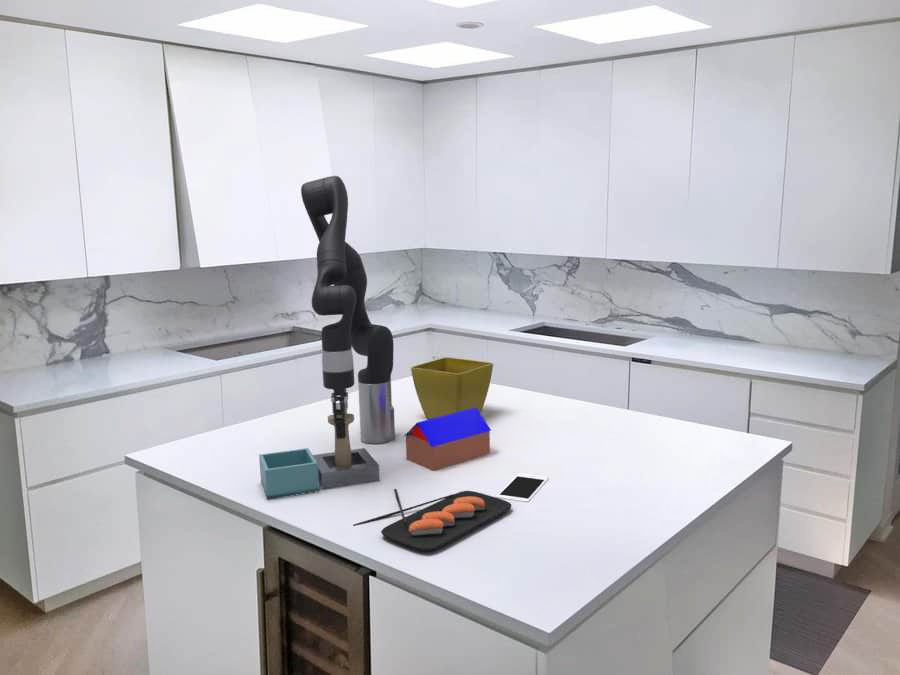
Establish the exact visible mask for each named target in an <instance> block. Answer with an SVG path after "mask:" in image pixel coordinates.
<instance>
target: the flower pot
mask: <svg viewBox="0 0 900 675" xmlns="http://www.w3.org/2000/svg"><path fill="white" fill-rule="evenodd" d="M493 369H494V363H493V362H490V361H489V362H488V361H482V360H481V361H480V360H473V359H465V358H457V357H449V356H444V357H441V358H438V359H434V360H430V361H427V362H423V363H419V364H416V365H412V366H411V367H410V371H411V377H412V381H413V385H414V388H415V391H416V396H417V398H418V402H419V404H420V406H421V409H422V411H423V415H424V416H425V418H426V419H427V420H429V419H433V418H437V417H441V416H445V415H449V414H453V413H457V412H461V411H465V410H469V409H473V408H477V410H478V411H479V413H480V414H481V415H482V411H483V409H484V405H485V402H486V400H487V396H488V392H489V389H490V385H491V380H492V374H493Z"/></svg>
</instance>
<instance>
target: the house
mask: <svg viewBox="0 0 900 675" xmlns="http://www.w3.org/2000/svg"><path fill="white" fill-rule="evenodd" d="M491 431H492V429H491V427H490V426H489V424H488V423H487V421H486V420H485V418H484V417H483V416H482V413H481V414H480V413H479V411H478V410H477V408H473V409H469V410H465V411H461V412H457V413H453V414H449V415H445V416H441V417H437V418H433V419H426V420H421V421H418V422H417V421H416V423H415V424H414V425H413V426H412V427H411V428H410V429H409V431H408V432H407V433H405V434H404V437H405V451H406V455H405V456H406V460H407V461H409V462H412V463H414V464H416V465H419V466H421V467H423V468H425V469H428V470H430V471H436V470H440V469H443V468H446V467H447V468H448V467H450V466H453V465H457V464H459V463H462V462H463V463H464V462H466V461H470V460H474V459H477V458H480V457H482V456H486V455H489V454H491V443H490V442H491V441H490V440H491V438H490V437H491V434H490V433H491Z"/></svg>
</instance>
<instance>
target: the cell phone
mask: <svg viewBox="0 0 900 675" xmlns="http://www.w3.org/2000/svg"><path fill="white" fill-rule="evenodd" d="M549 479H550V478H549V477H548V476H541V475H533V474H527V473H526V474H524V473H518V474H516V475H515V476H514V478H513V479H512V480H511V481H509V482H508V483H507V485H505V487H504V488H503V489H502V490H501V491H500V492H498V494H497V495H495V497H496V498H499V499H502V500H508V501H514V502H515V501H517V502H523V503H529V502H530V501H531V500H532V498H533V497H534V496H535V495H536V494H537V493H538V491H539V490H540V489H541V488H542V487H543V486H544V485H545V483H547V482H548V480H549Z"/></svg>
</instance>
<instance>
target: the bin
mask: <svg viewBox="0 0 900 675" xmlns="http://www.w3.org/2000/svg"><path fill="white" fill-rule="evenodd" d="M313 455H314V454H313V453H312V452H311V450H310V448H309V447H306V448H300V449H299V448H298V449H290V450H284V451H283V450H282V451H275V452H268V453H261V454H258V457H259V474H260V475H259V476H260V483H261V486H262V489H263V491H264V494H265V497H266V500H272V498H273V499H279V498H278V497H280V498H286V497H291V495H293V496H297V495H296V494H299V495H303V494H302V493H306V494H310V493H309V492H312V493H316V492H315V491H319V492H320V484H319V481H318V463H317V462H316V460H315V458H314V457H313ZM285 496H286V497H285Z"/></svg>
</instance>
